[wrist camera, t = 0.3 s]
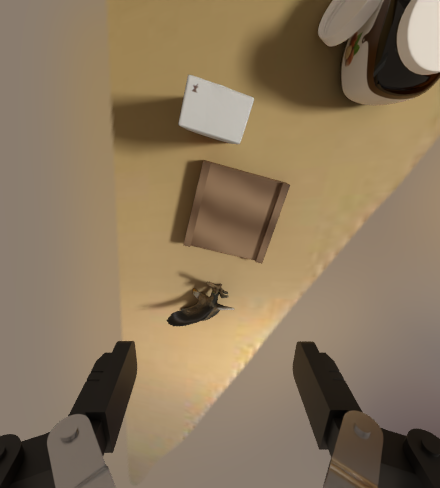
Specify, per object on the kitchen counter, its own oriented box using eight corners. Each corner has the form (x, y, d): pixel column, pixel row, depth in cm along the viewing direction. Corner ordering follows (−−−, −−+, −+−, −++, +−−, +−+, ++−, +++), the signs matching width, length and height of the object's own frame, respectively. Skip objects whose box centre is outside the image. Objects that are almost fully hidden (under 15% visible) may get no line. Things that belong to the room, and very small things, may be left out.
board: (203, 159, 36) (203, 160, 34) (285, 182, 38) (290, 185, 36) (184, 240, 40) (183, 245, 38) (259, 257, 42) (262, 263, 40)
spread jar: (386, 111, 35) (466, 96, 24) (302, 103, 34) (346, 84, 23) (417, -5, 30) (533, -86, 20) (322, -17, 30) (387, -108, 19)
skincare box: (186, 130, 35) (175, 124, 23) (194, 95, 33) (187, 71, 22) (230, 144, 35) (240, 145, 24) (240, 110, 34) (255, 95, 23)
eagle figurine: (194, 265, 40) (157, 309, 41) (220, 295, 36) (178, 344, 36) (221, 279, 46) (188, 318, 47) (246, 307, 41) (209, 349, 42)
